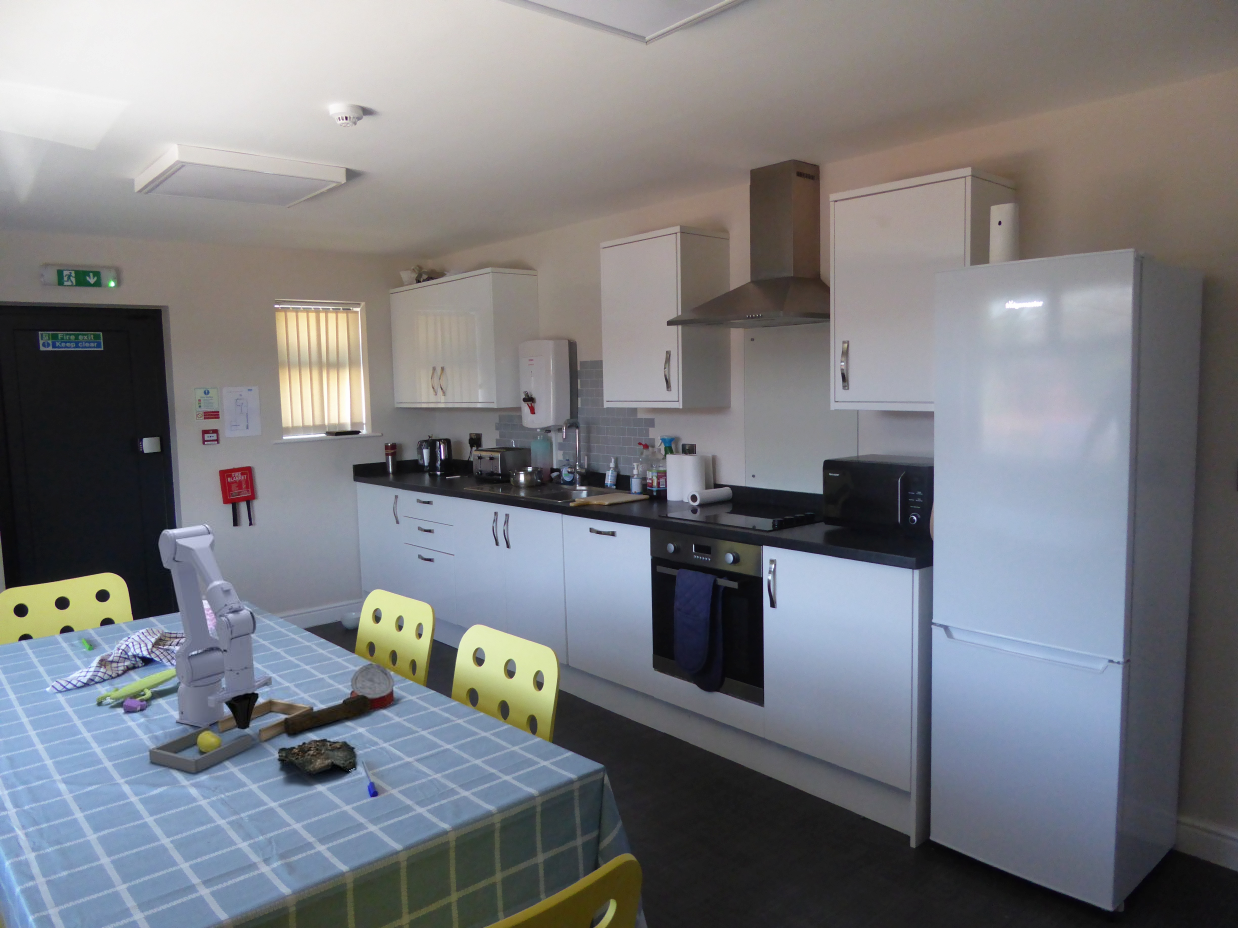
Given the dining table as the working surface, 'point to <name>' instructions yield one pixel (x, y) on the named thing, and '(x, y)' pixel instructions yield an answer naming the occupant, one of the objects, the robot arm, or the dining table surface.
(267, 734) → the oak frame
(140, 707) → the figurine
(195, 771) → the grey frame
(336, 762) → the decorative rock
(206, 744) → the lemon
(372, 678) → the canned food
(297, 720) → the hand tool
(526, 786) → the dining table surface
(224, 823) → the dining table surface
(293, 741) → the dining table surface
